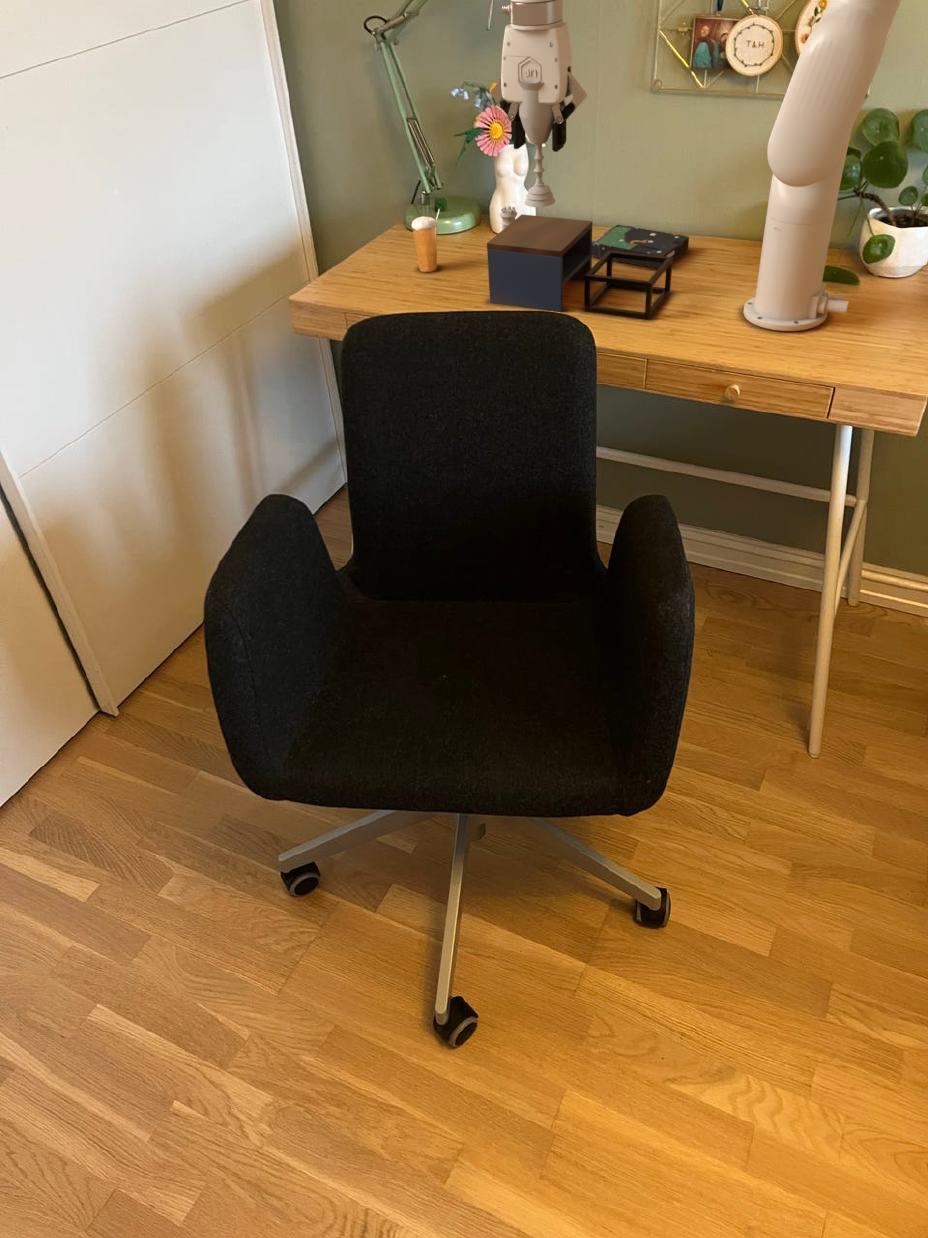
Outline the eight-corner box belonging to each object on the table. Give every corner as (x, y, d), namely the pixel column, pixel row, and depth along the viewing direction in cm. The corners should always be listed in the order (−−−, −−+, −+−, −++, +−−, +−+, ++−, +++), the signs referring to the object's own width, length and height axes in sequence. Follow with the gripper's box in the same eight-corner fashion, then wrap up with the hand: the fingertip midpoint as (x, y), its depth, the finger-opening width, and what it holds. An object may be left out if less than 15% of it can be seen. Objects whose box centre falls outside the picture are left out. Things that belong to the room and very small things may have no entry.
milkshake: (448, 269, 175) (444, 212, 169) (421, 275, 174) (415, 218, 168) (439, 261, 179) (435, 205, 172) (412, 267, 177) (406, 211, 171)
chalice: (557, 209, 152) (557, 82, 140) (515, 209, 154) (511, 83, 142) (563, 194, 158) (563, 70, 146) (522, 194, 159) (518, 71, 147)
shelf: (591, 279, 167) (592, 220, 161) (561, 312, 158) (560, 251, 152) (523, 271, 172) (521, 214, 166) (489, 302, 163) (486, 242, 157)
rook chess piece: (516, 246, 182) (514, 202, 176) (525, 254, 178) (524, 209, 173) (494, 251, 181) (492, 207, 175) (503, 259, 177) (501, 214, 172)
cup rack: (670, 292, 161) (672, 257, 157) (649, 319, 154) (651, 283, 150) (607, 285, 165) (608, 250, 161) (583, 311, 158) (584, 275, 154)
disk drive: (688, 251, 174) (616, 238, 181) (690, 235, 172) (617, 222, 179) (662, 271, 168) (588, 256, 175) (663, 255, 166) (589, 241, 173)
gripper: (471, 17, 139) (478, 151, 151) (583, 19, 133) (581, 158, 145) (493, 7, 144) (499, 137, 156) (602, 8, 138) (599, 144, 149)
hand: (538, 146), depth 150 cm, fingers closed on chalice, 5 cm apart
